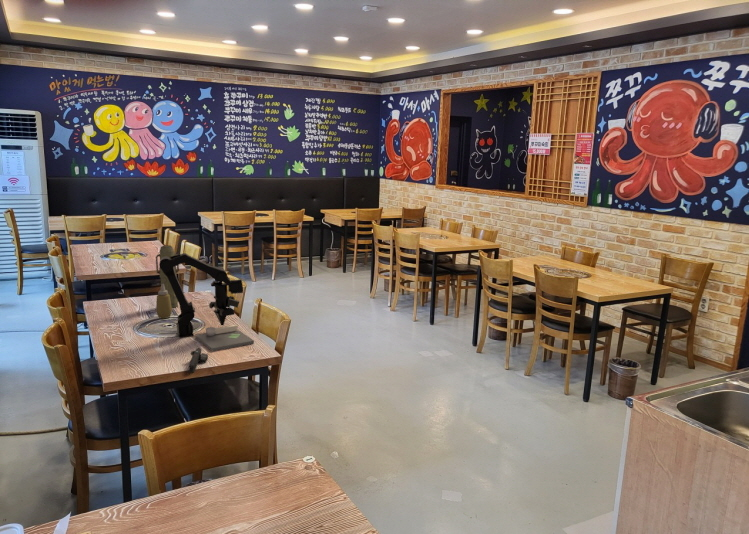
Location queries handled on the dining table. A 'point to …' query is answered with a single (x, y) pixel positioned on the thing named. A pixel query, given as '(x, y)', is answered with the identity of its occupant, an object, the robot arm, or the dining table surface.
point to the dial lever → (220, 330)
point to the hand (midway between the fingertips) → (222, 325)
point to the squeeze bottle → (163, 303)
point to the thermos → (164, 252)
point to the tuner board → (224, 340)
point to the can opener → (197, 359)
